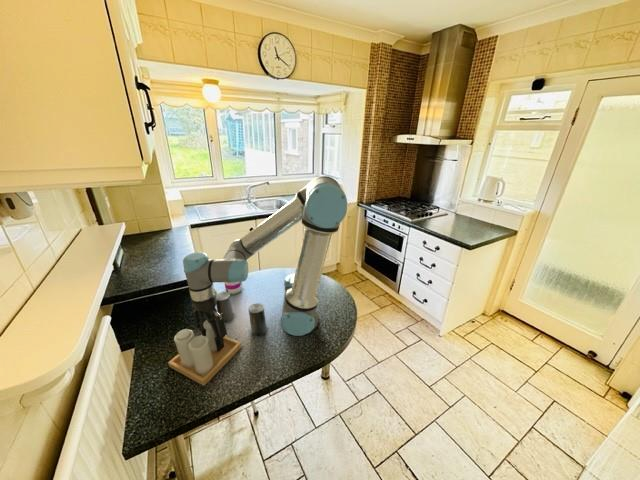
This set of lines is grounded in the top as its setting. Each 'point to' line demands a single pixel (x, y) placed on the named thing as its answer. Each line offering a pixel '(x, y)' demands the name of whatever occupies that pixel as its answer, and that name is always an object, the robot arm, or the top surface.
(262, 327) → the grey canister near
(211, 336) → the salt shaker
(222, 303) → the grey canister far
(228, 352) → the tray
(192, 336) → the white shaker
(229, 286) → the supplement can
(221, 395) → the top surface
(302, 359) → the top surface
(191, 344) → the white shaker
